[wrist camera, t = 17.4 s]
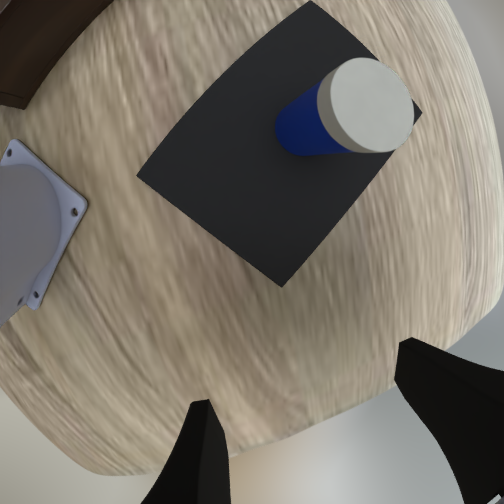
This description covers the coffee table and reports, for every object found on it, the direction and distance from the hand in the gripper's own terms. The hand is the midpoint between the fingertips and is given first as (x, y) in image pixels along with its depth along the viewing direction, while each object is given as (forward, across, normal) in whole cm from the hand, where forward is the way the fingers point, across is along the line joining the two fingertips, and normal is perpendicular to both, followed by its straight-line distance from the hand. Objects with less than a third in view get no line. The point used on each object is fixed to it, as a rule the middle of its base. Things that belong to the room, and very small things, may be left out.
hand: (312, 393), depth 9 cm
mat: (+9, -4, -9) cm, 14 cm away
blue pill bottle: (+9, -4, -9) cm, 13 cm away
